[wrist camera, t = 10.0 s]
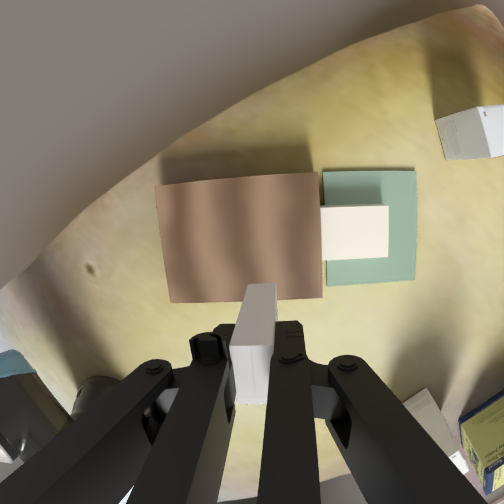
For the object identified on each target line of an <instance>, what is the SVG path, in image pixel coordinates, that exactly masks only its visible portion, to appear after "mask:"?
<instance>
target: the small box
mask: <svg viewBox="0 0 504 504" xmlns="http://www.w3.org/2000/svg"><path fill="white" fill-rule="evenodd" d="M435 122H436V125H437V129H438V132H439V136H440V139H441V143H442V147H443V150H444V154H445V158H446V160H447V161H448V160H468V159H492V158H496V157H501V156H504V104H500V105H490V106H476V107H473V108H470V109H467V110H464V111H460V112H457V113H454V114H451V115H448V116H445V117H442V118H439V119H436V120H435Z"/></svg>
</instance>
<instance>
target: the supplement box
mask: <svg viewBox="0 0 504 504" xmlns="http://www.w3.org/2000/svg"><path fill="white" fill-rule="evenodd" d="M402 404H403V405H404V406H405V407H406V409H407V410H408V411H409V412H410V413H411V414H412V415H413V417H414V418H415V419H416V420H417V421H418V422H419V424H420V425H421V426H422V427H423V428H424V429H425V430H426V432H427V433H428V434H429V435H430V436H431V437H432V439H433V440H434V441H435V442H436V443H437V444H438V446H439V447H440V448H441V449H442V450H443V451H444V453H445V454H446V455H447V456H448V457H449V458H450V460H451V461H452V462H453V463H454V464H455V465H456V467H457V468H458V469H459V470H460V471H461V473H462V474H465V473H466V472H468V471H469V470H470V469H469V466H468V464H467V462H466V460H465V457H464V455H463V453H462V451H461V449H460V447H459V445H458V443H457V441H456V439H455V437H454V435H453V433H452V431H451V429H450V428H449V426H448V424H447V422H446V420H445V418H444V416H443V415H442V413H441V411H440V409H439V408H438V406H437V404H436V402H435V401H434V399H433V397H432V396H431V394H430V392H429V391H428V389H427V388H425V389H423V390H422V391H420V392H419V393H417V394H416V395H414V396H413V397H411V398H410V399H408V400H407V401H405V402H403V403H402Z"/></svg>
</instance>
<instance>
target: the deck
mask: <svg viewBox="0 0 504 504" xmlns="http://www.w3.org/2000/svg"><path fill="white" fill-rule="evenodd" d="M155 193H156V203H157V212H158V220H159V229H160V236H161V244H162V251H163V258H164V265H165V271H166V278H167V284H168V290H169V296H170V302H171V303H205V302H242V301H243V299H244V296H245V293H246V289H247V286H248V284H263V283H276V290H277V300H290V299H309V298H322V247H321V220H320V200H319V183H318V172H307V173H289V174H273V175H259V176H246V177H234V178H223V179H213V180H203V181H194V182H185V183H177V184H169V185H161V186H155Z"/></svg>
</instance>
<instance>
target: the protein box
mask: <svg viewBox="0 0 504 504" xmlns="http://www.w3.org/2000/svg"><path fill="white" fill-rule="evenodd" d="M458 421H459V428H460V436H461V444H462V446H463V448H464V450H465V452H466V454H467V456H468V458H469V460H470V462H471V464H472V466H473V468H474V470H475V472H476V474H477V477H478V479H479V481H480V483H481V485H482V487H483V490H484V492H485V494H486V495H487V494H489V493H491V492H492V491H494V490H496V489H497V488H499V487H500V486H502V485H503V484H504V390H503V391H501V392H500V393H499V394H497V395H496V396H494V397H493V398H491V399H490V400H488V401H487V402H485V403H484V404H482V405H481V406H479V407H478V408H476V409H475V410H473V411H471V412H470V413H468V414H467V415H465V416H463V417H462V418H460V419H459V420H458Z"/></svg>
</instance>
